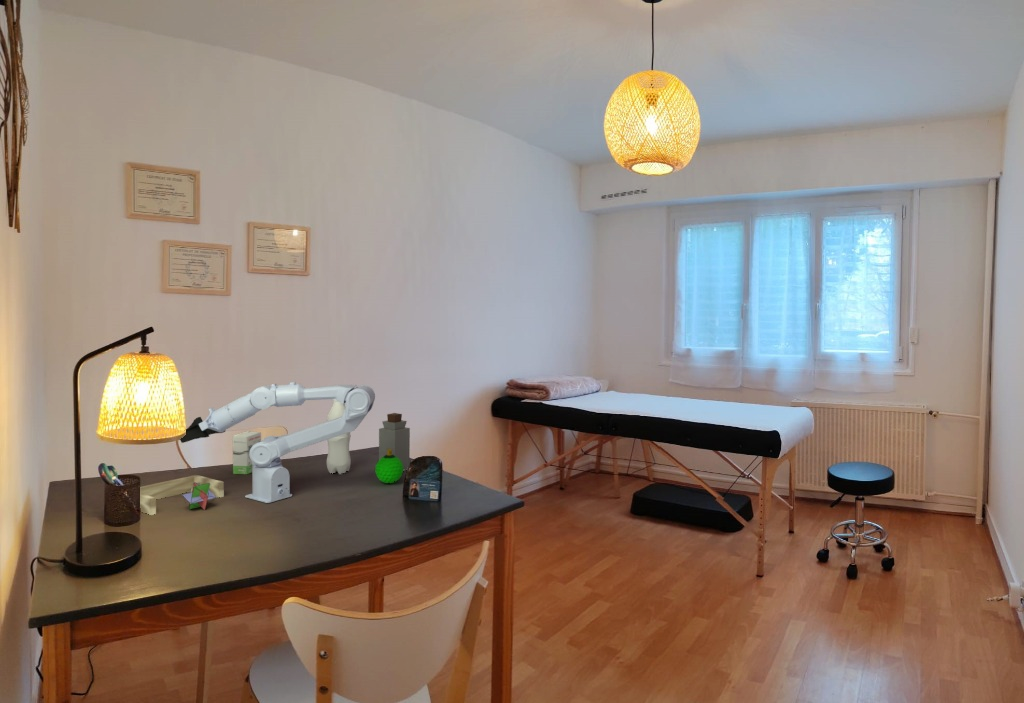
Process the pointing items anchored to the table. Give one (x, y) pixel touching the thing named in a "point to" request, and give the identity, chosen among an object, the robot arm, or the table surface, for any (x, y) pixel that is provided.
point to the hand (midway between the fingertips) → (187, 437)
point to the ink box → (244, 451)
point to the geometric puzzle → (199, 495)
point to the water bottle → (338, 444)
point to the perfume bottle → (395, 438)
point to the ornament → (389, 468)
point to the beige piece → (174, 490)
